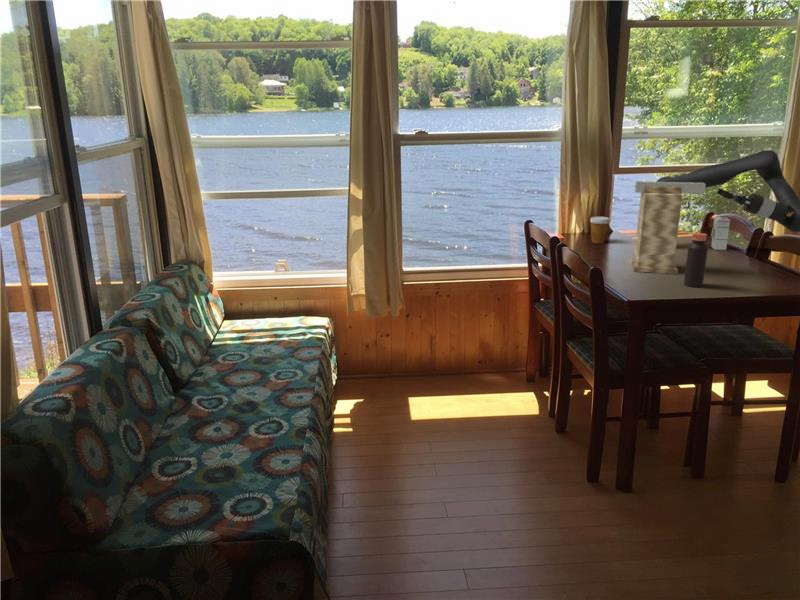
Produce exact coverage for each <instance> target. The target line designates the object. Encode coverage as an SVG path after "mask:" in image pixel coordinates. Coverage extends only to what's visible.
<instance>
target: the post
mask: <svg viewBox="0 0 800 600" xmlns="http://www.w3.org/2000/svg"><path fill="white" fill-rule="evenodd" d="M681 192H682V187H645V189H644V193H640V199H639V209H638V216H637V217H638V219H637V226H636V227H637V228H636V234H635V235H636V237H635V247H634V257H633V258H629V262H628V263H629V265H630V267H631V269H632V271H633V273H644V272H651V273H650V274H666V273H669V274H670V275H672V274H673V275H678V273H679V269H678V267H677V266H676V264H675V260H676V259H675V258H676V251H677V243H678V234H679V225H680V219H681V209H682V202H683V194H681ZM669 274H668V275H669Z"/></svg>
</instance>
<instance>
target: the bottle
mask: <svg viewBox="0 0 800 600" xmlns="http://www.w3.org/2000/svg"><path fill="white" fill-rule="evenodd" d="M707 237H708V234H707V233H704V232H693V233H692V239H691V240H692V243H691V244H689V245H688V247H687V248H688V249H687V255H686V257H687V258H686V263H685V271H684V279H683V284H684V285H685V286H687V287H690V286H691V288H701V287H703V286H704V280H705V279H704V278H705V271H706V266H707V265H706V264H707V257H708V246H707V245H706V242H707Z"/></svg>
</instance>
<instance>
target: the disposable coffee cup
mask: <svg viewBox="0 0 800 600" xmlns="http://www.w3.org/2000/svg"><path fill="white" fill-rule="evenodd" d="M589 221H590V237H591V243H594V244H604V242H606V238H607V233H608V228H609V224H610V222H611V219H610V218H609V217H606V216H597V215H596V216H592V217H590V220H589Z"/></svg>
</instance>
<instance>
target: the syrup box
mask: <svg viewBox="0 0 800 600" xmlns="http://www.w3.org/2000/svg"><path fill="white" fill-rule="evenodd" d="M730 223H731V220H730V219H729V218H728V217H723V216H721V217H720V216H717V217H714V219H713V226H712V235H711V245H710V248H711V249H712V250H717V251H718V250H720V251H726V250H727V246H728V245H727V244H728V237H729V230H730Z"/></svg>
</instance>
